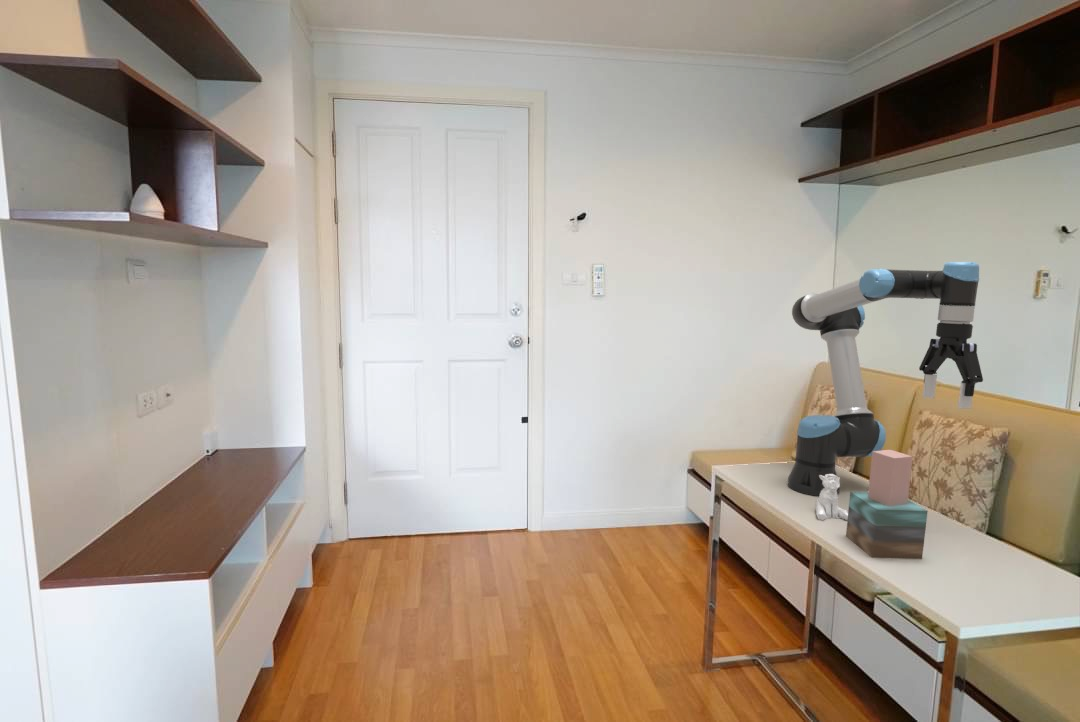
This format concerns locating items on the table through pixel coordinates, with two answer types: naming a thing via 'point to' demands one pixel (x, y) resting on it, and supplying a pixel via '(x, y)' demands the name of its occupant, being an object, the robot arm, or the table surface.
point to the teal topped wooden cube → (886, 527)
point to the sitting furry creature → (829, 499)
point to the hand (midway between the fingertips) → (945, 403)
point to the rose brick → (890, 477)
